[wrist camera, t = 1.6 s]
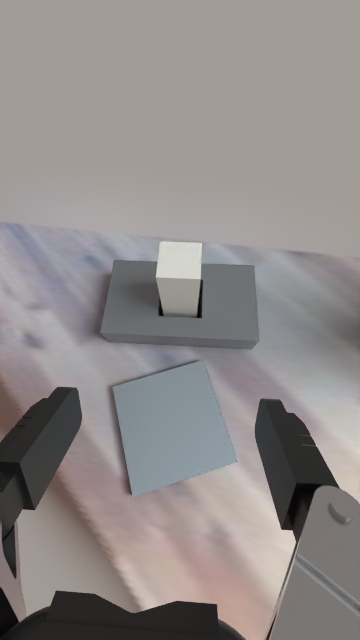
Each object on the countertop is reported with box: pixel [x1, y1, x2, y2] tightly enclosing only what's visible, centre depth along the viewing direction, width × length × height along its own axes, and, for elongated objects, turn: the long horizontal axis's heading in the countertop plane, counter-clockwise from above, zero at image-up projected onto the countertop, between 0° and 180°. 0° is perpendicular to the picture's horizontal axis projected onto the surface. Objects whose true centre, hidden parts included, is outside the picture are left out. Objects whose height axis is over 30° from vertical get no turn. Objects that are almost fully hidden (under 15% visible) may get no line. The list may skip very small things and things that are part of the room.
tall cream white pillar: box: [156, 241, 202, 318], centre depth 27 cm, size 4×4×11 cm
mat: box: [113, 360, 237, 497], centre depth 27 cm, size 11×11×1 cm
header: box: [100, 260, 259, 349], centre depth 31 cm, size 18×10×4 cm, turn 86°
